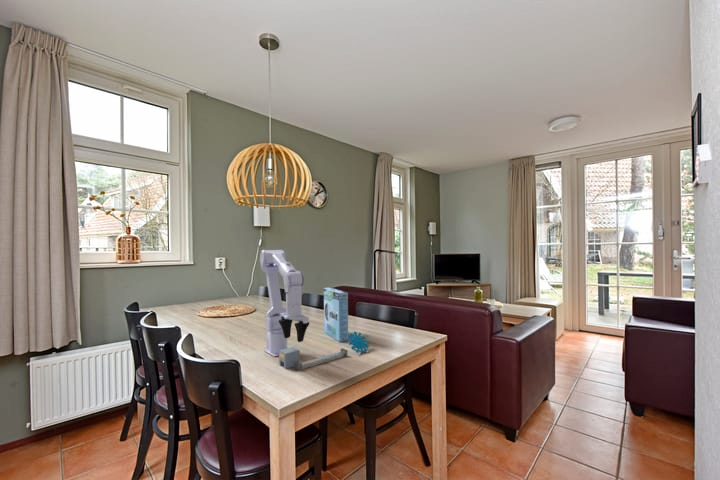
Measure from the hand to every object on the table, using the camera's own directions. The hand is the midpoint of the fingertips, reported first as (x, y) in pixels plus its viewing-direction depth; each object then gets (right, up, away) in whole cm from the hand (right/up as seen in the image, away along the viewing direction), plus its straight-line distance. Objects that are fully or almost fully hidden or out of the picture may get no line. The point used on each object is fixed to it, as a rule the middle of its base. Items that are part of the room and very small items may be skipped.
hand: (293, 339), depth 120 cm
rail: (+10, -10, +3) cm, 15 cm away
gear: (+25, -10, +16) cm, 31 cm away
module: (-2, -10, 0) cm, 10 cm away
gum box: (+13, -10, +37) cm, 40 cm away
